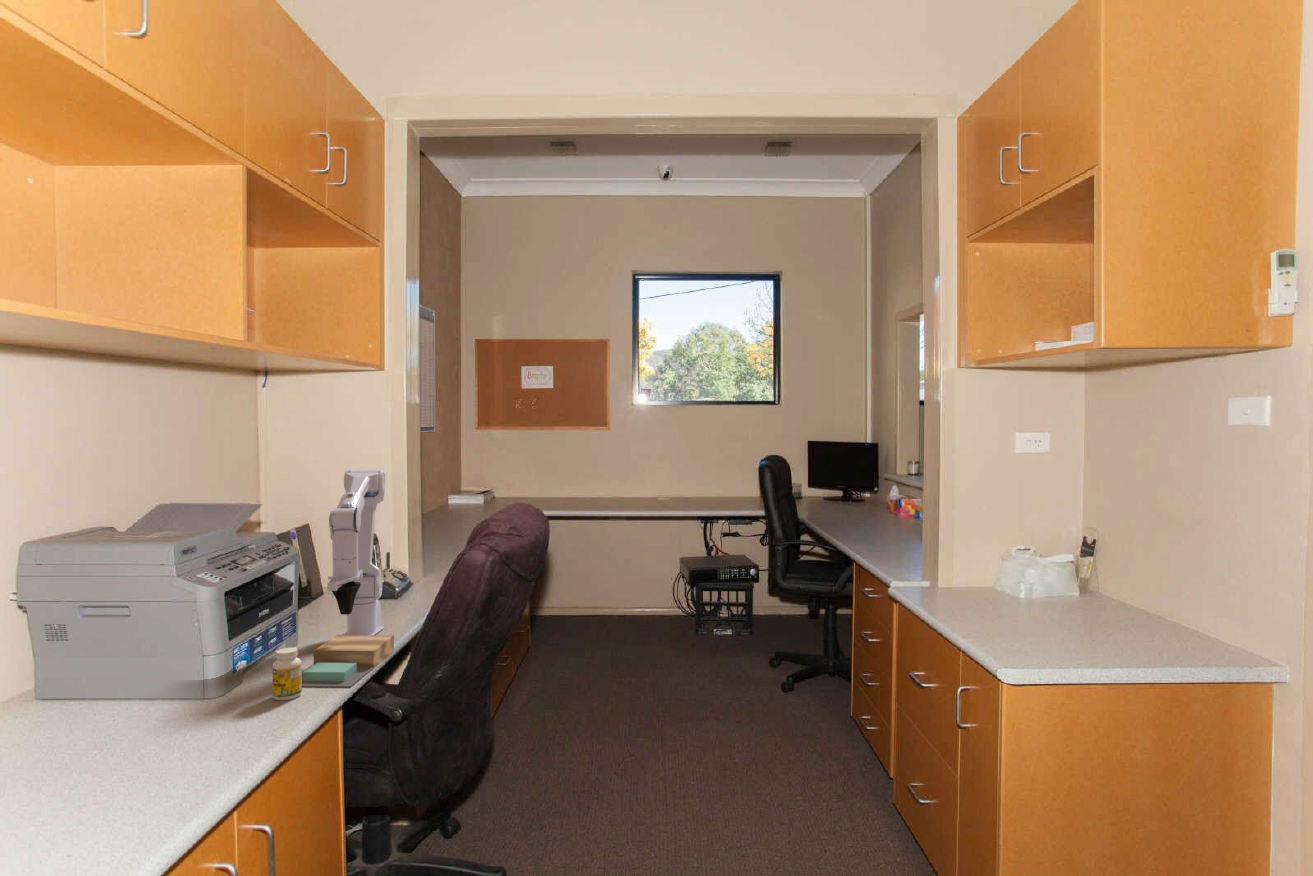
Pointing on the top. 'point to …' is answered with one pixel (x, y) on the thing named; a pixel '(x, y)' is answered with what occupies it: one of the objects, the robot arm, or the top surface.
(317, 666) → the mint green block
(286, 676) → the supplement bottle
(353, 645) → the wooden block
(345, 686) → the mat
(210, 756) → the top surface
